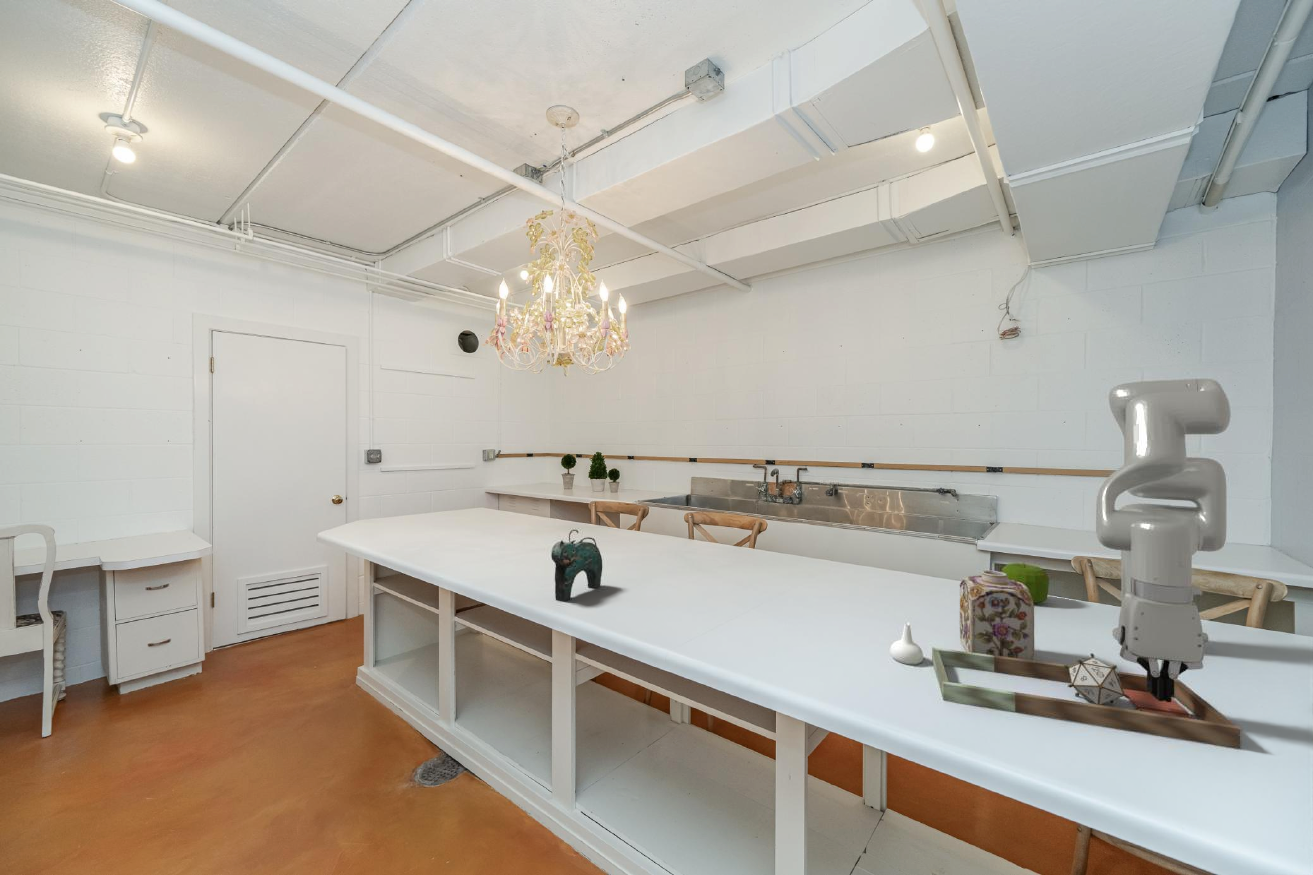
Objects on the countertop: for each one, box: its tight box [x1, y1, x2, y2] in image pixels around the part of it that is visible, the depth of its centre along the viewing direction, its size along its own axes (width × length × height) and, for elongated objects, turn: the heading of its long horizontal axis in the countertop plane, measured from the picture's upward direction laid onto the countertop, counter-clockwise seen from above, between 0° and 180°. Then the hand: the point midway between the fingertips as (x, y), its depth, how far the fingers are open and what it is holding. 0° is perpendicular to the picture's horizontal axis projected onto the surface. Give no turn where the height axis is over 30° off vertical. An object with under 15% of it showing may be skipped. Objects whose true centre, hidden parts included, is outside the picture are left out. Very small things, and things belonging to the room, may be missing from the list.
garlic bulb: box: [889, 622, 924, 666], centre depth 111 cm, size 6×6×8 cm
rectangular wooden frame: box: [931, 647, 1241, 749], centre depth 95 cm, size 40×17×3 cm, turn 68°
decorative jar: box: [959, 570, 1035, 661], centre depth 113 cm, size 12×12×18 cm
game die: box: [1063, 652, 1131, 706], centre depth 93 cm, size 9×8×10 cm
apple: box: [1001, 562, 1050, 604], centre depth 149 cm, size 11×11×11 cm
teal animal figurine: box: [550, 529, 603, 603], centre depth 159 cm, size 20×6×20 cm, turn 147°
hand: (1160, 697), depth 90 cm, fingers closed
